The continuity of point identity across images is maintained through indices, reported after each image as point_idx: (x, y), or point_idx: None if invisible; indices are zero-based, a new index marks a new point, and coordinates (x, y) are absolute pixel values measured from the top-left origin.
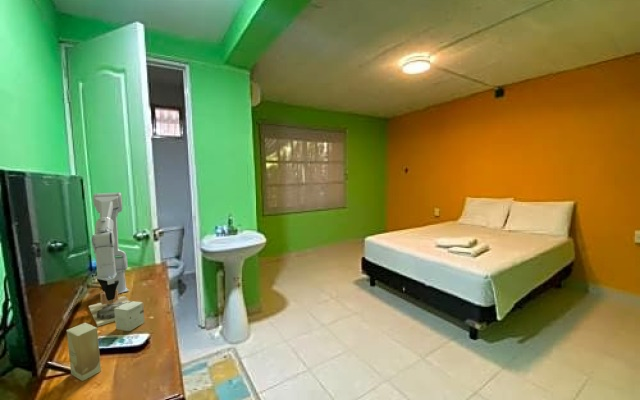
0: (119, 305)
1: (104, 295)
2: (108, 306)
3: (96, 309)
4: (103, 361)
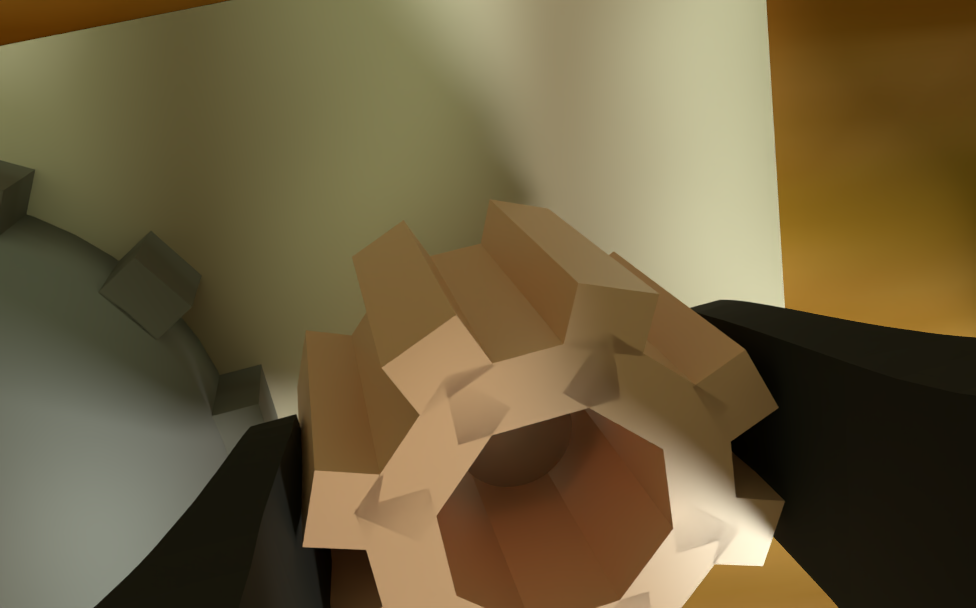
0: (59, 600)
1: (402, 399)
2: (141, 385)
3: (389, 87)
4: None
